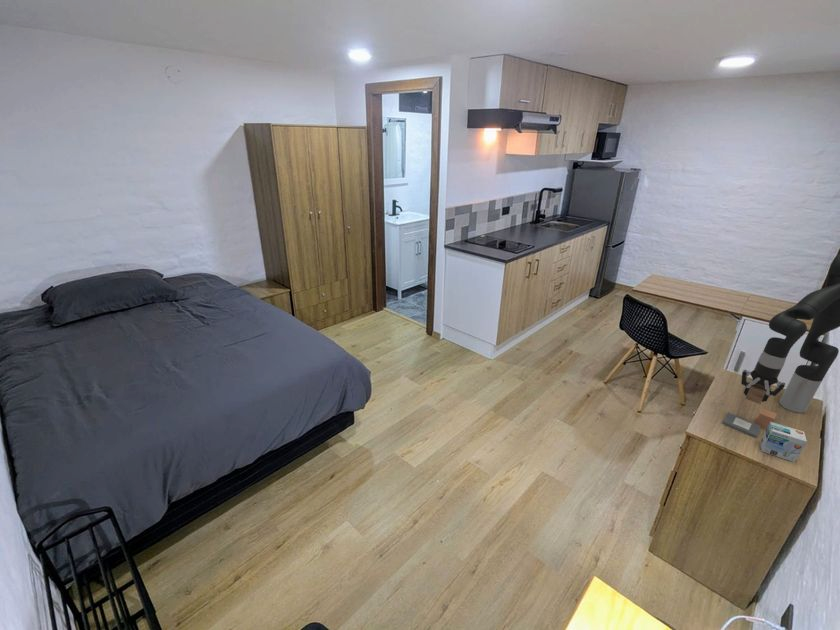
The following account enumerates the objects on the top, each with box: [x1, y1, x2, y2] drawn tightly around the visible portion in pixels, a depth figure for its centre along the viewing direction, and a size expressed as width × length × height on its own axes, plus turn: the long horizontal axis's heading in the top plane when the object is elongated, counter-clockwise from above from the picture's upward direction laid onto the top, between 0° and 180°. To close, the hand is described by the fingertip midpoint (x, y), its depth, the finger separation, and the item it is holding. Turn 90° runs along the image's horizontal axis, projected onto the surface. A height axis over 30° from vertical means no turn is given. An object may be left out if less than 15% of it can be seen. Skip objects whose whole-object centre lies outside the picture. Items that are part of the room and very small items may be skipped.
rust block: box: [754, 408, 777, 430], centre depth 169 cm, size 5×5×6 cm
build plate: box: [721, 412, 762, 439], centre depth 170 cm, size 9×12×1 cm
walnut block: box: [744, 383, 766, 405], centre depth 162 cm, size 5×5×6 cm
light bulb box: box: [759, 421, 808, 463], centre depth 154 cm, size 11×7×11 cm, turn 56°
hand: (754, 397), depth 163 cm, fingers closed on walnut block, 5 cm apart
